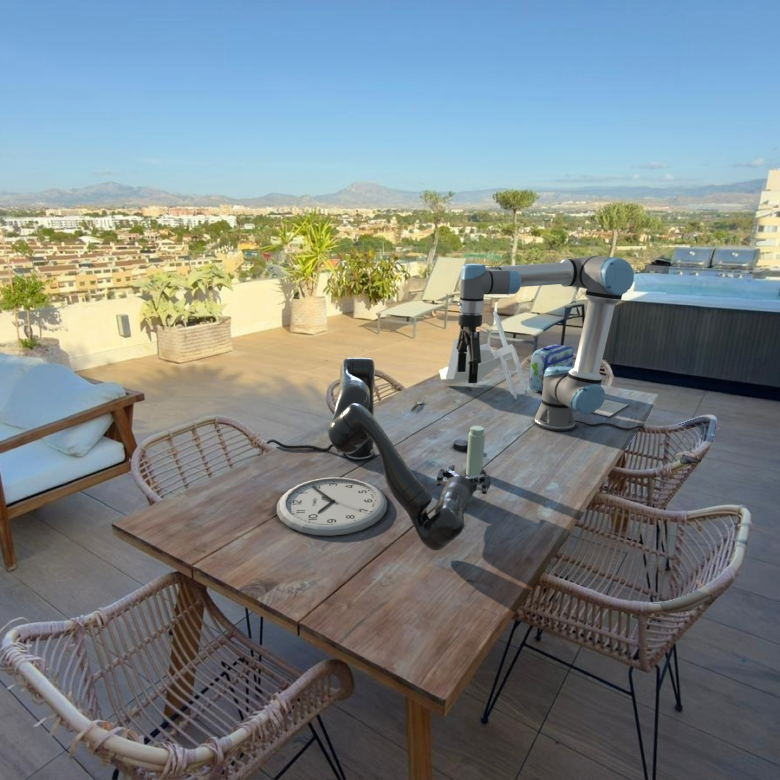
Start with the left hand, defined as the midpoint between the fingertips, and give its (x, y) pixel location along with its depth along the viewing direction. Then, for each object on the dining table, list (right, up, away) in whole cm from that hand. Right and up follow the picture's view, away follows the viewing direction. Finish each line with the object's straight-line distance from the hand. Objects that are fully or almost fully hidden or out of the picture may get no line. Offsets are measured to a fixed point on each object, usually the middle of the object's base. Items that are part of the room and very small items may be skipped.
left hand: (468, 470), depth 150 cm
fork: (-11, +16, +72) cm, 75 cm away
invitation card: (+69, +16, +76) cm, 104 cm away
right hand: (+3, +27, +24) cm, 36 cm away
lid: (+2, +4, +31) cm, 31 cm away
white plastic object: (+19, +22, +93) cm, 98 cm away
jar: (+4, -3, +13) cm, 14 cm away
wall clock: (-38, -9, -7) cm, 40 cm away
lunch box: (+54, +23, +100) cm, 116 cm away
